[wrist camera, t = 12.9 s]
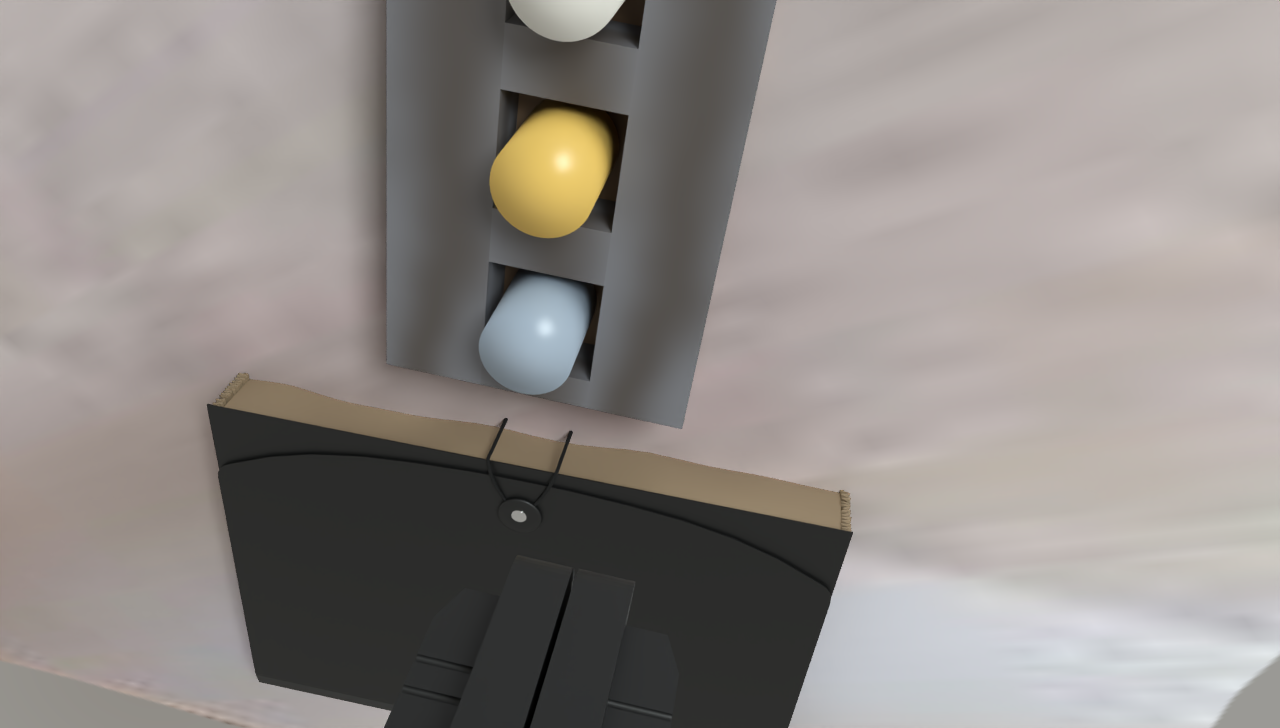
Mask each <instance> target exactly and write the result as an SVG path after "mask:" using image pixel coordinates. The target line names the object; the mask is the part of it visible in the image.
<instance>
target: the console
mask: <svg viewBox="0 0 1280 728" xmlns="http://www.w3.org/2000/svg"><path fill="white" fill-rule="evenodd" d="M775 5H776V0H625V1H624V3H623V4H622V5H621V7H620V8H619V9H618V11H617V12H616V13H615V15H614V16H613V17H612V19H611V20H610V21H609V22H608V23H607V25H606V26H605V27H604V28H602V29H601V30H600V31H599V32H597V33H596V34H594V35H593V36H591V37H588V38H586V39H583V40H579V41H573V42H561V41H555V40H551V39H548V38H546V37H543V36H541V35H539V34H538V33H536V32H534V31H533V30H532V29H530V28H529V27H528V26H527V25H526V24H525V23H523V22H522V20H521V19H520V18H519V17H518V16H517V14H516V13H515V11H514V10H513V8H512V6H511V4H510V2H509V0H386V119H387V364H390V365H394V366H399V367H403V368H408V369H412V370H417V371H421V372H426V373H430V374H435V375H439V376H444V377H448V378H453V379H457V380H462V381H467V382H471V383H476V384H480V385H485V386H489V387H494V388H498V389H503V390H507V391H512V392H515V391H513V390H510V389H508V388H506V387H504V386H503V385H501V384H500V383H498V382H497V381H496V380H495V379H494V378H493V377H492V376H491V375H490V374H489V373H488V372H487V370H486V369H485V367H484V365H483V363H482V361H481V358H480V354H479V339H480V336H481V334H482V332H483V330H484V328H485V326H486V325H487V323H488V321H489V319H490V318H491V316H492V314H493V312H494V311H495V309H496V307H497V306H498V304H499V302H500V300H501V299H502V297H503V295H504V293H505V292H506V290H507V288H508V287H509V285H510V283H511V281H512V280H513V278H514V276H515V274H516V273H517V272H518V270H519V269H520V268H521V269H526V270H531V271H535V272H540V273H545V274H549V275H554V276H559V277H563V278H568V279H573V280H577V281H582V282H587V283H591V284H593V286H594V289H595V292H596V297H597V305H596V310H595V313H594V315H593V318H592V320H591V323H590V325H589V328H588V330H587V333H586V335H585V338H584V340H583V342H582V345H581V347H580V350H579V352H578V355H577V357H576V360H575V362H574V365H573V367H572V370H571V372H570V375H569V376H568V378H567V380H566V381H565V382H564V383H563V384H562V385H561V386H560V387H558V388H557V389H555V390H553V391H551V392H548V393H544V394H537V395H531V394H525V395H530V396H534V397H539V398H543V399H548V400H552V401H557V402H561V403H566V404H570V405H575V406H580V407H584V408H589V409H593V410H598V411H602V412H607V413H611V414H616V415H620V416H625V417H629V418H634V419H638V420H643V421H647V422H652V423H656V424H661V425H665V426H670V427H674V428H679V429H682V427H683V422H684V417H685V413H686V408H687V404H688V399H689V395H690V390H691V386H692V381H693V377H694V372H695V368H696V363H697V359H698V354H699V349H700V345H701V340H702V336H703V331H704V327H705V322H706V318H707V313H708V309H709V304H710V300H711V295H712V290H713V286H714V281H715V277H716V272H717V268H718V263H719V259H720V254H721V250H722V245H723V241H724V236H725V231H726V227H727V222H728V218H729V213H730V209H731V204H732V200H733V195H734V191H735V186H736V182H737V177H738V173H739V168H740V163H741V159H742V154H743V150H744V145H745V141H746V136H747V132H748V127H749V123H750V118H751V114H752V109H753V104H754V100H755V95H756V91H757V86H758V82H759V77H760V73H761V68H762V64H763V59H764V55H765V50H766V46H767V41H768V36H769V32H770V27H771V23H772V18H773V14H774V9H775ZM545 99H551V100H556V101H561V102H566V103H571V104H576V105H581V106H586V107H590V108H595V109H600V110H605V111H606V113H607V114H608V115H609V116H610V118H611V119H612V121H613V123H614V125H615V127H616V130H617V133H618V138H619V152H618V157H617V160H616V162H615V165H614V167H613V169H612V171H611V173H610V175H609V177H608V179H607V181H606V183H605V185H604V187H603V189H602V191H601V193H600V195H599V197H598V199H597V201H596V203H595V205H594V207H593V209H592V211H591V213H590V215H589V216H588V218H587V220H586V221H585V222H584V223H583V224H582V225H581V226H580V227H579V228H578V229H577V230H575V231H574V232H572V233H570V234H568V235H565V236H562V237H557V238H540V237H535V236H531V235H529V234H526V233H524V232H522V231H520V230H518V229H517V228H515V227H514V226H512V225H511V224H510V223H509V222H508V221H507V220H506V219H505V218H504V217H503V216H502V215H501V213H500V212H499V211H498V209H497V207H496V205H495V203H494V201H493V198H492V195H491V191H490V172H491V168H492V165H493V163H494V161H495V159H496V157H497V156H498V154H499V153H500V152H501V150H502V149H503V148H504V147H505V145H506V144H507V143H508V142H509V140H510V139H511V138H512V136H513V135H514V134H515V133H516V131H517V130H518V129H519V127H520V126H521V125H522V124H523V122H524V121H525V120H526V119H527V117H528V116H529V115H530V113H531V112H532V111H533V110H534V109H535V107H536V106H537V105H538V104H540V103H541V102H542V101H544V100H545ZM516 393H519V392H516ZM521 394H523V393H521Z"/></svg>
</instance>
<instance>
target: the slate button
mask: <svg viewBox="0 0 1280 728" xmlns="http://www.w3.org/2000/svg"><path fill="white" fill-rule="evenodd" d="M596 305H597V297H596V292H595V289H594V286H593V284H591V283H587V282H582V281H577V280H573V279H568V278H563V277H559V276H554V275H549V274H545V273H540V272H535V271H531V270H526V269H521V268H520V269H519V270H518V272H517V273H516V274H515V276H514V278H513V280H512V281H511V283H510V285H509V287H508V288H507V290H506V292H505V293H504V295H503V297H502V299H501V300H500V302H499V304H498V306H497V307H496V309H495V311H494V312H493V314H492V316H491V318H490V319H489V321H488V323H487V325H486V326H485V328H484V330H483V332H482V334H481V336H480V339H479V354H480V358H481V361H482V363H483V365H484V367H485V369H486V370H487V372H488V373H489V374H490V375H491V376H492V377H493V378H494V379H495V380H496V381H497V382H498V383H500V384H501V385H503V386H504V387H506V388H508V389H510V390H513V391H515V392H519V393H523V394H531V395H537V394H544V393H548V392H551V391H553V390H555V389H557V388H558V387H560V386H561V385H562V384H563V383H564V382H565V381H566V380H567V378H568V376H569V375H570V372H571V370H572V367H573V365H574V362H575V360H576V357H577V355H578V352H579V350H580V347H581V345H582V342H583V340H584V338H585V335H586V333H587V330H588V328H589V325H590V323H591V320H592V318H593V315H594V313H595V310H596Z"/></svg>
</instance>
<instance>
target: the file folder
mask: <svg viewBox="0 0 1280 728" xmlns="http://www.w3.org/2000/svg"><path fill="white" fill-rule="evenodd" d="M229 385H230V386H227V388H225V391H223V392H224V393H221V395H219V396H220V399H216V403H213V405H211V404H207V409H208V414H209V419H210V424H211V429H212V434H213V439H214V445H215V450H216V455H217V460H218V465H219V472H218V478H219V483H220V489H221V494H222V499H223V504H224V510H225V515H226V520H227V526H228V531H229V536H230V541H231V547H232V552H233V557H234V562H235V568H236V573H237V578H238V584H239V589H240V594H241V599H242V605H243V610H244V615H245V621H246V626H247V631H248V636H249V642H250V647H251V652H252V657H253V663H254V668H255V673H256V676H257V678H258V680H259V682H262V683H267V684H271V685H276V686H280V687H285V688H290V689H294V690H299V691H303V692H308V693H312V694H317V695H322V696H326V697H331V698H335V699H340V700H344V701H349V702H354V703H358V704H363V705H367V706H372V707H376V708H381V709H386V710H390V711H392V709H393V706H394V704H395V702H396V700H397V698H398V695H399V693H400V692H402V689H403V684H404V682H405V680H406V677H407V675H408V673H409V671H410V669H411V666H412V664H413V662H414V661H415V660H416V657H417V653H418V651H419V648H420V646H421V644H422V642H423V640H424V637H425V635H426V633H427V631H428V628H429V626H430V624H431V622H432V619H433V617H434V616H435V615H436V614H437V613H438V612H439V611H440V610H441V609H443V608H444V607H445V606H446V605H447V604H448V603H449V602H450V601H451V600H452V599H453V598H455V597H456V596H457V595H458V594H459V593H460V592H461V591H462V590H463V589H464V588H467V589H471V590H475V591H480V592H484V593H488V594H493V595H497V596H500V595H501V593H502V590H503V588H504V585H505V582H506V580H507V577H508V575H509V572H510V569H511V567H512V564H513V562H514V560H515V558H516V556H517V555H520V556H525V557H529V558H533V559H538V560H542V561H546V562H551V563H555V564H559V565H564V566H568V567H572V568H574V579H573V584H574V580H575V577H576V574H577V572H578V570H579V569H583V570H587V571H591V572H596V573H600V574H604V575H609V576H613V577H617V578H622V579H626V580H630V581H635V586H634V591H633V596H632V600H631V605H630V610H629V615H628V619H627V624H626V625H627V626H631V627H636V628H640V629H644V630H649V631H653V632H657V633H661V634H666V635H668V637H669V641H670V644H671V648H672V651H673V655H674V658H675V661H676V665H677V668H678V672H679V677H678V684H677V690H676V696H675V702H674V708H673V714H672V719H671V727H670V728H788V727H789V724H790V721H791V718H792V715H793V712H794V709H795V706H796V703H797V700H798V697H799V694H800V691H801V688H802V685H803V682H804V679H805V676H806V673H807V670H808V667H809V664H810V661H811V658H812V655H813V652H814V649H815V646H816V644H817V641H818V638H819V635H820V632H821V629H822V626H823V623H824V620H825V617H826V614H827V611H828V608H829V605H830V601H831V596H832V593H833V590H834V587H835V584H836V581H837V578H838V575H839V572H840V570H841V567H842V564H843V561H844V558H845V555H846V552H847V549H848V546H849V543H850V540H851V537H852V534H853V532H851V524H850V523H851V517H850V514H851V513H850V511H851V510H849V509H850V499H851V498H849V496H850V493H847V492H844V490H840V493H838V492H833V491H828V490H823V489H819V488H814V487H809V486H804V485H800V484H796V483H791V482H787V481H783V480H778V479H773V478H769V477H764V476H759V475H754V474H748V473H743V472H737V471H731V470H726V469H720V468H715V467H710V466H705V465H701V464H696V463H692V462H688V461H684V460H679V459H675V458H671V457H666V456H661V455H657V454H653V453H648V452H640V451H633V450H627V449H614V448H602V447H593V446H583V445H575V444H570V443H569V442H570V439H571V436H572V433H573V431H569V434H568V437H567V440H566V442H565V443H564V442H558V441H553V440H549V439H544V438H540V437H535V436H531V435H527V434H523V433H519V432H515V431H511V430H507V429H504V427H505V425H506V423H507V420H508V419H507V418H505V419H504V421H503V423H502V425H501V427H500V428H499V427H494V426H488V425H483V424H477V423H469V422H461V421H453V420H442V419H435V418H428V417H420V416H415V415H409V414H404V413H399V412H394V411H389V410H384V409H379V408H374V407H368V406H362V405H358V404H353V403H349V402H345V401H341V400H337V399H333V398H330V397H326V396H323V395H320V394H317V393H314V392H311V391H308V390H305V389H301V388H298V387H295V386H290V385H286V384H280V383H274V382H267V381H259V380H251V379H249V375H248V374H247V373H244V374H241V373H238V375H237V378H235V381H232V383H229ZM572 587H573V586H572Z"/></svg>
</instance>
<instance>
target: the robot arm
mask: <svg viewBox="0 0 1280 728" xmlns="http://www.w3.org/2000/svg"><path fill="white" fill-rule="evenodd" d="M573 579H574V568H572V567H568V566H564V565H559V564H555V563H551V562H546V561H542V560H538V559H533V558H529V557H525V556H520V555H517V556H516V558H515V560H514V562H513V564H512V567H511V569H510V572H509V575H508V577H507V580H506V582H505V585H504V588H503V590H502V593H501V595H500V596H497V595H493V594H488V593H484V592H480V591H475V590H471V589H467V588H464V589H463V590H462V591H461V592H460V593H459V594H458V595H457V596H456V597H455V598H453V599H452V600H451V601H450V602H449V603H448V604H447V605H446V606H445V607H444V608H443V609H441V610H440V611H439V612H438V613H437V614H436V615H435V616H434V617H433V619H432V622H431V624H430V626H429V628H428V631H427V633H426V635H425V637H424V640H423V642H422V644H421V646H420V648H419V651H418V653H417V657H416V660H415V661H414V662H413V664H412V666H411V669H410V671H409V673H408V675H407V677H406V680H405V682H404V684H403V689H402V692H400V693H399V695H398V698H397V700H396V702H395V704H394V706H393V709H392V711H391V713H390V715H389V718H388V720H387V722H386V724H385V727H384V728H670V727H671V719H672V714H673V708H674V702H675V696H676V690H677V684H678V677H679V672H678V668H677V665H676V661H675V658H674V655H673V651H672V648H671V644H670V641H669V637H668V635H666V634H661V633H657V632H653V631H649V630H644V629H640V628H636V627H631V626H627V625H626V624H627V619H628V615H629V610H630V605H631V600H632V596H633V591H634V586H635V581H630V580H626V579H622V578H617V577H613V576H609V575H604V574H600V573H596V572H591V571H587V570H583V569H579V570H578V572H577V574H576V577H575V580H574V584H573ZM572 586H573V587H572Z"/></svg>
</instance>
